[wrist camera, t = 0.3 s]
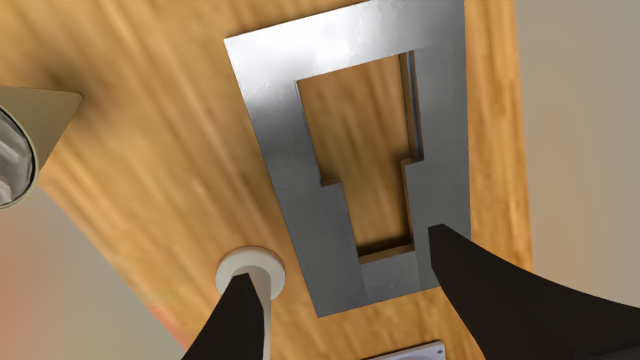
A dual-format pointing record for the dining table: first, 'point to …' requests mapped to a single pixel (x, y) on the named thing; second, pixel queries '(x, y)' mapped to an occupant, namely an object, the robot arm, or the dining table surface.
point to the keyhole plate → (418, 171)
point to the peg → (255, 278)
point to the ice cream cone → (29, 136)
